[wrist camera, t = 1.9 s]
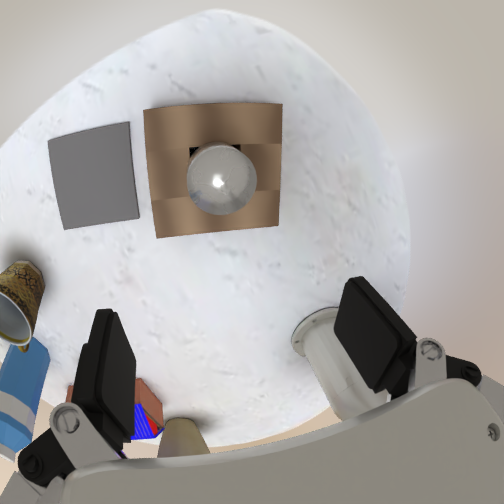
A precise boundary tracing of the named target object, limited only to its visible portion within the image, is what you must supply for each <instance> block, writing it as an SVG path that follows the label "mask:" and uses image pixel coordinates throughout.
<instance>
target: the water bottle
mask: <svg viewBox="0 0 504 504" xmlns="http://www.w3.org/2000/svg"><path fill="white" fill-rule="evenodd" d="M25 347H26V345H24V349H25ZM49 363H50V357H49V354H48V350H47V349H46V348H45V347H44V346H43V345H42V344H41V343H40V342H39V341H37V340H36V339H35V338H34V337H32V339H31V341H30V342H29V349H28V351H27V352H26V353H23V352H21V351H20V350H19V348H18V346H16V345H13V344H11V345H10V347H9V350H8V352H7V354H6V357H5V359H4V362H3V364H2V367H1V369H0V457H2V458H4V459H6V460H8V461H10V462H13V463H14V462H15V454H16V452H18V451H19V450H21V449H23V448H24V447H26V446H27V445H28V444H30V443H31V442H32V436H33V430H34V424H35V419H36V414H37V409H38V405H39V400H40V396H41V392H42V388H43V384H44V381H45V377H46V373H47V370H48V367H49Z"/></svg>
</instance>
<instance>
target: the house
mask: <svg viewBox="0 0 504 504" xmlns="http://www.w3.org/2000/svg"><path fill="white" fill-rule="evenodd" d="M72 392H73V386H69V387H68V391H67V397H66V402H69V403H71V398H72ZM66 402H65V403H66ZM159 428H160V429H159ZM164 429H165V428H164V426H163V411H162V403H161V402H160V401H159V400H158V399H157V397H156V396H155V395H154V394H153V393H152V392H151V390H150V389H149V388H148V387H147V385H146V384H145V383H144V382H143V380H142V379H141V378H138V379H135V435H134V436H131V440H138V439H152V438H156V437H157V436H158V435H159V434H160V433H161V432H162V431H163V430H164Z"/></svg>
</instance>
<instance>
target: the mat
mask: <svg viewBox="0 0 504 504" xmlns="http://www.w3.org/2000/svg"><path fill="white" fill-rule="evenodd" d="M48 149H49V157H50V164H51V171H52V177H53V183H54V188H55V193H56V198H57V203H58V207H59V211H60V216H61V220H62V224H63V228H64V230H67V229H73V228H79V227H85V226H92V225H98V224H105V223H112V222H119V221H126V220H133V219H139V218H140V216H139V209H138V203H137V196H136V189H135V181H134V172H133V163H132V153H131V142H130V128H129V122H126V123H120V124H115V125H110V126H105V127H100V128H95V129H91V130H87V131H82V132H78V133H74V134H70V135H67V136H63V137H60V138H56V139H53V140H49V141H48Z"/></svg>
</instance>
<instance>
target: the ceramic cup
mask: <svg viewBox="0 0 504 504" xmlns="http://www.w3.org/2000/svg"><path fill="white" fill-rule="evenodd" d="M44 289H45V285H44V281H43V278H42V274H41V271H39V270H38V269H37V268H36V267H35V266H34V265H33V264H32V263H31V262H30V261H21V260H19V261H16V262H15V263H14V264H12V265H11V266H10V267H9V268H7V269H6V270H5V271H4V272H2V273H1V274H0V338H1V339H2V340H4V341H6V342H8V343H10V344H13V345H16V346H18V348H19V350H20V351H21V352H23V353H26V352H27V351H28V349H29V342H30V341H31V339H32V336H33V332H34V329H35V324H36V320H37V315H38V310H39V306H40V303H41V299H42V295H43V292H44ZM24 345H26V347H25V349H24Z"/></svg>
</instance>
